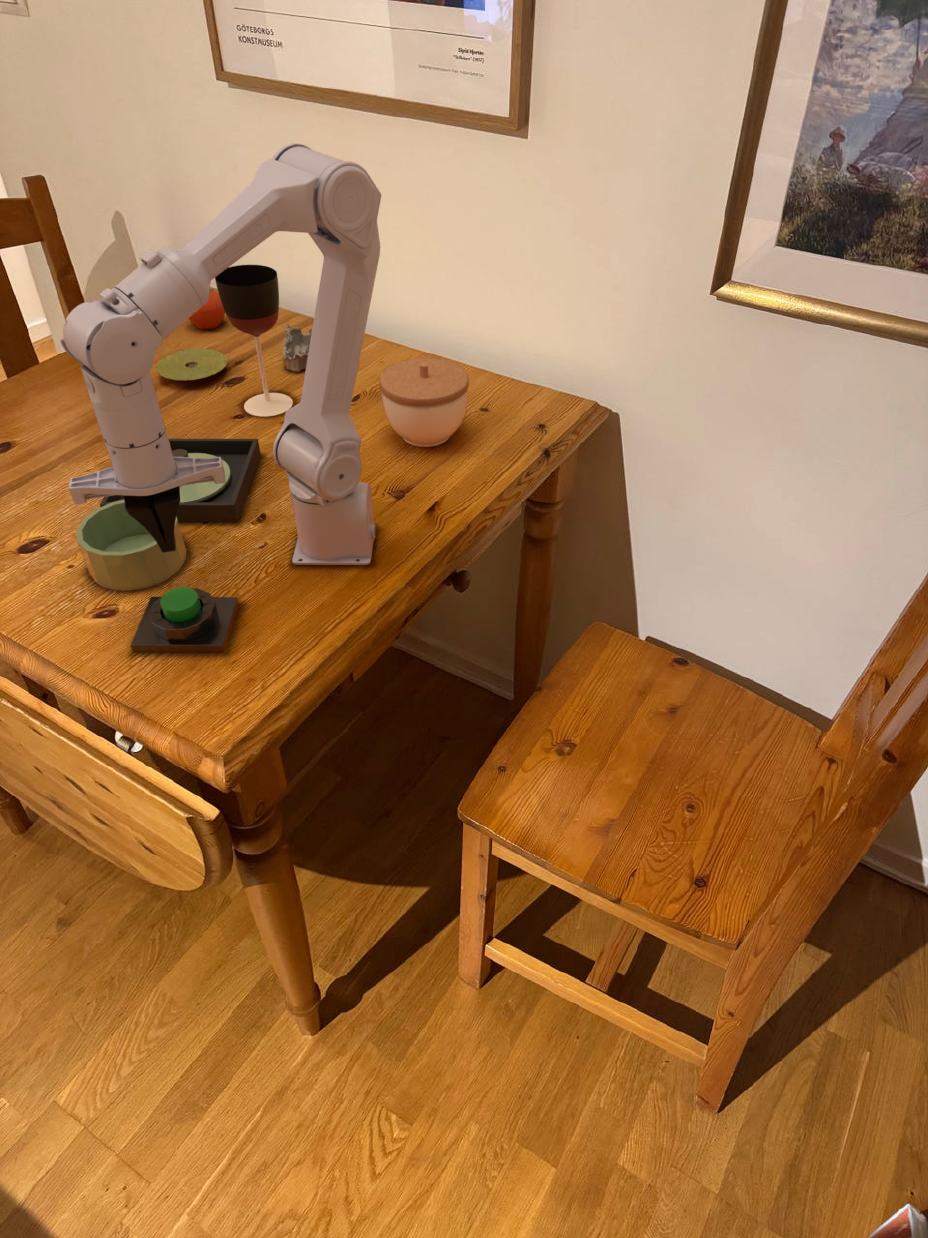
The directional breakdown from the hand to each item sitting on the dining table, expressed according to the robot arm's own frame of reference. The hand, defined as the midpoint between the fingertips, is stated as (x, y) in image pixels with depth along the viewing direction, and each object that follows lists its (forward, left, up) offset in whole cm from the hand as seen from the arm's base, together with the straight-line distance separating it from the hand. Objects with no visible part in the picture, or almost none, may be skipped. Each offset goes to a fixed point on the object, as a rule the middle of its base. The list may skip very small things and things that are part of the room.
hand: (168, 546), depth 91 cm
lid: (+7, -26, -9) cm, 28 cm away
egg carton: (-4, -65, -10) cm, 66 cm away
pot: (+9, -10, -10) cm, 17 cm away
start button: (0, +2, -7) cm, 8 cm away
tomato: (+16, -78, -10) cm, 80 cm away
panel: (0, +2, -10) cm, 10 cm away
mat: (+14, -59, -10) cm, 62 cm away
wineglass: (0, -49, -10) cm, 50 cm away
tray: (+7, -26, -10) cm, 29 cm away
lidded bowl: (-25, -40, -10) cm, 49 cm away
